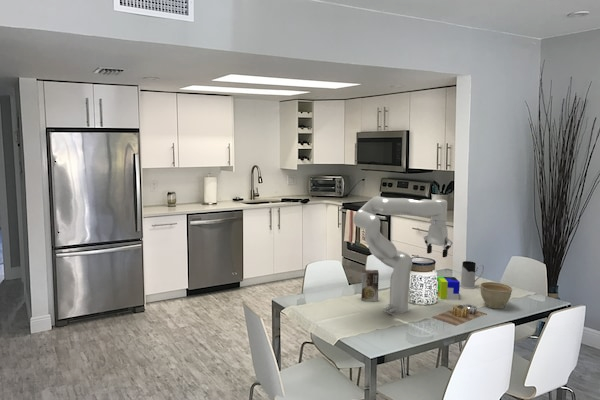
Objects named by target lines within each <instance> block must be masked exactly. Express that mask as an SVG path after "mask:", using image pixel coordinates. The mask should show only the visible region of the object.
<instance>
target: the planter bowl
mask: <svg viewBox="0 0 600 400" xmlns="http://www.w3.org/2000/svg"><path fill="white" fill-rule="evenodd" d="M479 286H480V295H481V299H482V300H483V301H484V304H485V306H486V307H488V308H492V309H504V308H505V305H507V303H508V302H509V300H510V298H511V295H512V291H513V287H512V286H510V285H508V284H505V283H502V282H496V281H495V282H494V281H484V282H481V283H480V285H479Z"/></svg>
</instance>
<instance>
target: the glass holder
mask: <svg viewBox="0 0 600 400" xmlns="http://www.w3.org/2000/svg"><path fill="white" fill-rule="evenodd" d="M479 266H482V271H481V273H480V275H479V276H478V277H477V278H476V272H478V269H479ZM484 267H485V266H484V265H483V264H481V263H479V264H478V265H477V266H476V262H474V261H471V260H470V261H469V260H466V261H464V260H463V261H462V265H461V278H460V279H461V280H460V288H461V289H466V290H474V289H476V286H475V285H476V284H475V283H476V282H477V281H478V280H479V279H480V278H481V277H482V276H483V274H484V270H485V268H484Z"/></svg>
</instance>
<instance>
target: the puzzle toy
mask: <svg viewBox="0 0 600 400" xmlns="http://www.w3.org/2000/svg"><path fill="white" fill-rule="evenodd" d="M436 279H437V280H436V282H437V281H438V295H437V296H438V297H439V299H441V300H460V288H461V287H460V285H461V281H459V280H458V279H457V277H455V276H437V278H436Z"/></svg>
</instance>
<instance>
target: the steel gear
mask: <svg viewBox="0 0 600 400" xmlns="http://www.w3.org/2000/svg"><path fill="white" fill-rule="evenodd" d="M463 305H464V306H467V307H468V314H470V313H471V314H474V313H475V314H476V313H477V311H478V306H476V305H473V304H471V303H470V304H463Z"/></svg>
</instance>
